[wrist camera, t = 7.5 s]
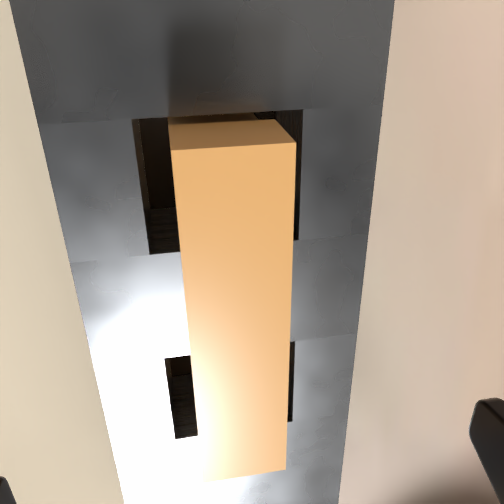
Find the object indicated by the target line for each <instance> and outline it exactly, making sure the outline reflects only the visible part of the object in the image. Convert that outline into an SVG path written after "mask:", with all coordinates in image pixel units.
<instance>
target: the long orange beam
mask: <svg viewBox="0 0 504 504" xmlns="http://www.w3.org/2000/svg"><path fill="white" fill-rule="evenodd" d="M167 119H168V130H169V140H170V151H171V161H172V171H173V182H174V192H175V202H176V211H177V221H178V232H179V242H180V252H181V263H182V273H183V284H184V294H185V304H186V315H187V325H188V336H189V346H190V358H191V368H192V378H193V388H194V398H195V409H196V419H197V429H198V439H199V449H200V459H201V470H202V480H203V483H208V482H214V481H220V480H226V479H232V478H238V477H244V476H250V475H256V474H262V473H268V472H274V471H280V470H286V447H287V416H288V385H289V354H290V323H291V292H292V261H293V230H294V199H295V168H296V142H295V141H294V139H293V138H292V137H291V136H290V135H289V134H288V133H287V132H286V131H285V130H284V129H283V128H282V126H281V125H280V124H279V123H278V122H277V121H276V120H275V119H270V120H258V119H257V117H256V116H255V115H254V114H253V113H234V114H215V115H197V116H178V117H167Z"/></svg>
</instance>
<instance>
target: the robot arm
mask: <svg viewBox="0 0 504 504" xmlns="http://www.w3.org/2000/svg"><path fill="white" fill-rule="evenodd" d="M469 436H470V439H471V442H472V444H473V446H474V448H475V450H476V452H477V454H478V457H479V459H480V461H481V463H482V465H483V467H484V469H485V472H486V474H487V476H488V478H489V480H490V482H491V484H492V486H493V489H494V491H495V493H496V495H497V497H498V499H499V501H500V503H501V504H504V401H503V400H502V399H499V398H489V399H483V400H479V401H478V402H477V403H476V405H475V408H474V412H473V415H472V418H471V422H470V425H469ZM0 504H16V501H15V499H14V496H13V494H12V491H11V489H10V487H9V484H8V482H7V480H6V478H4V477H2V476H0Z"/></svg>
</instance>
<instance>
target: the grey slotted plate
mask: <svg viewBox="0 0 504 504" xmlns="http://www.w3.org/2000/svg"><path fill="white" fill-rule="evenodd" d="M9 1H10V6H11V10H12V14H13V19H14V23H15V28H16V32H17V36H18V41H19V45H20V49H21V54H22V58H23V62H24V67H25V71H26V75H27V80H28V84H29V88H30V93H31V97H32V101H33V106H34V110H35V114H36V119H37V123H38V127H39V132H40V136H41V140H42V145H43V149H44V153H45V158H46V162H47V166H48V171H49V175H50V179H51V184H52V188H53V192H54V197H55V201H56V205H57V210H58V214H59V218H60V223H61V227H62V231H63V236H64V240H65V245H66V249H67V253H68V258H69V262H70V266H71V271H72V275H73V279H74V284H75V288H76V292H77V297H78V301H79V305H80V310H81V314H82V318H83V323H84V327H85V331H86V336H87V340H88V344H89V349H90V353H91V357H92V362H93V366H94V370H95V375H96V379H97V383H98V388H99V392H100V396H101V401H102V405H103V409H104V414H105V418H106V422H107V427H108V431H109V435H110V440H111V444H112V448H113V453H114V457H115V461H116V466H117V470H118V475H119V479H120V483H121V488H122V492H123V496H124V501H125V504H338V500H339V491H340V482H341V473H342V464H343V455H344V446H345V438H346V429H347V420H348V411H349V402H350V393H351V384H352V375H353V366H354V357H355V349H356V340H357V331H358V322H359V313H360V304H361V295H362V286H363V277H364V268H365V259H366V251H367V242H368V233H369V224H370V215H371V206H372V197H373V188H374V179H375V170H376V162H377V153H378V144H379V135H380V126H381V117H382V108H383V99H384V90H385V81H386V73H387V64H388V55H389V46H390V37H391V28H392V19H393V10H394V1H395V0H9ZM265 111H275V120H276V121H277V122H278V123H279V124H280V125H281V126H282V128H283V129H284V130H285V131H286V132H287V133H288V134H289V135H290V136H291V137H292V138H293V139H294V141H295V142H296V168H295V199H294V230H293V261H292V292H291V323H290V354H289V385H288V416H287V447H286V470H280V471H274V472H268V473H262V474H256V475H250V476H244V477H238V478H232V479H226V480H220V481H214V482H208V483H203V480H202V470H201V459H200V449H199V439H198V429H197V419H196V409H195V398H194V388H193V378H192V374H187V375H180V376H172V373H171V365H170V357H178V356H185V355H190V346H189V336H188V325H187V315H186V304H185V294H184V284H183V273H182V263H181V252H180V242H179V232H178V221H177V211H176V207H171V208H159V209H150V202H149V195H148V187H147V179H146V171H145V164H144V156H143V148H142V140H141V133H140V125H139V119H143V118H160V117H178V116H195V115H213V114H230V113H247V112H265Z"/></svg>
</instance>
